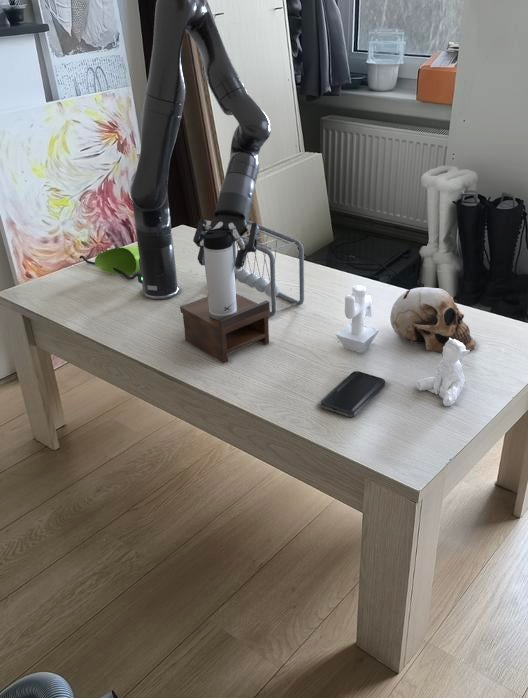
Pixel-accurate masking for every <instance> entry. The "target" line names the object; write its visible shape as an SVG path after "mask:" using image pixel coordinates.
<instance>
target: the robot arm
mask: <svg viewBox="0 0 528 698" xmlns="http://www.w3.org/2000/svg"><path fill="white" fill-rule="evenodd" d="M185 32H186V33H187V34H188V35H189V37H190V38H191V39H192V41H193V42H194V44H195V45H196V47H197V49H198V51H199V53H200V57H201V59H202V64H203V69H204V75H205V78H206V79H205V80H206V82H207V84H208V87H209V89H210V91H211V93H212V95H213V96H214V98H215V100H216V103H217V104H218V106H219V108H220V110H221V111H222V112H223V113H224V115H226V116H233V118H234V119H235V120H236V121H237V123H238V125H237V127H236V128H235V130H234V132H233V135H232V139H231V142H230V143H231V144H230V150H229V151H230V153H229V161H228V163H227V167H226V172H225V175H224V179H223V181H222V184H221V187H220V191H219V195H218V199H217V202H216V207H215V211H214V216H213V219H211V220H207V219H205V218H204V217H201V218H199V220H198V223H197V226H196V230H195V233H194V236H193V238H192V239H193V240H192V242H193V243H194V244H195V245H196V246H197V247H198V248H199V250H198V255H197V261H198V263H199V264H200V266H204V267H205V257H204V242H203V235H204V234H205V233H206V232H207V231H209V230H210V229H209V228H210V227H212V229H216V228H229V229H233V234H232V243H234V242H235V243H236V242H237V246H238V253H237V252H236V262H235V267H236V268H237V269H242V268H244V267H245V259H246V260H247V255H248V254H249V253H256V252H257V250H256V248H257V245H258V244H257V243H259V238H260V236H259V235H260V232H259V231H261V230H260V229H259V227H258V225H259V224H258V223H256V222H253V223H252V225H249V224H247V221H249V218H250V213H251V209H252V205H253V200H254V197H255V192H256V191H255V190H256V183H257V180H258V175H259V170H260V161H259V154H260V152H261V149H262V147H263V145H264V144H265V143H266V142H267V141H268V139H269V138H270V135H271V131H272V127H271V123H270V120H269V118H268V116H267V114H266V113H265V111H264V110H263V109H262V108H261V106H260V105H258V103H257V102H256V101H255V100H254V99H253V98H252V97H251V95H249V93H248V91H247V89H246V87H245V85H244V83H243V81H242V80H241V78H240V76H239V74H238V72H237V70H236V68H235V67H234V65H233V63H232V60H231V58H230V56H229V53H228V52H227V50H226V47H225V44H224V42H223V39H222V37H221V34H220V31H219V29H218V26H217V24H216V21H215V19H214V16H213V12H212V8H211V6H210V4H209V1H208V0H156V2H155V11H154V25H153V41H152V49H151V57H150V64H149V71H148V78H147V84H146V87H145V94H144V100H143V106H142V114H141V124H140V125H141V126H140V128H141V129H140V151H139V158H138V161H137V166H136V170H135V172H134V173H133V174H132V176H131V178H130V181H129V194H130V195H129V196H130V198H131V203H132V210H133V218H134V221H133V222H134V229H135V234H136V242H137V246H138V250H139V265H140V271H139V272H136V273H133V275H132V276H129V275H126V274H124V273H123V272H122V271H120V270H118V269H116V268H113V269H114V270H115V271H116V272H119V273H120V274H122V276H123V277H124V278H126V279H127V280H134V279H135V278H136V277H137V282H138V283H139V284H141V285H142V286H141V287H142V291H143V295H144V297H146V298H147V299H151V300H167V299H170V298H172V297H175V296H176V295H178V293H179V286H178V285H179V284H178V275H177V266H176V259H175V249H174V241H173V240H174V239H173V232H172V231H173V230H172V221H171V212H170V203H169V194H168V184H169V171H170V165H171V164H170V163H171V158H172V154H173V150H174V147H175V144H176V141H177V137H178V132H179V129H180V125H181V121H182V116H183V111H184V105H185V101H186V84H185V79H184V74H183V69H182V68H183V67H182V61H181V56H182V46H183V42H184V36H185ZM257 224H258V225H257ZM248 232H249V236H248V238H249V240H248V241H249V242H248V245H245V243H244V241H243V238H242V237H241V236H244V234H246V233H248ZM78 259H80V260H81V259H82V260H83V261H84V262H85V263H87V264H89V265H94V266H96V265H95V261H92V260H91V261H90V260H88V259H87V258H86V257H85V256H84V255H83V254H82V255H80V256H79V257H78ZM120 274H119V275H120Z"/></svg>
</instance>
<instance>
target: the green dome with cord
mask: <svg viewBox="0 0 528 698" xmlns="http://www.w3.org/2000/svg"><path fill="white" fill-rule="evenodd" d="M94 262H95V265H94V266H96V268H97V269H98V270H100V271H102V272H105V273H109V274H113V275H122V274H120V273H119V272H116V271H115V270H114V269H113V268H116V269H118V270H120V271H122V272H123V273H124V274H126V275H127V276H129V275H132V274H136V273H137V272H139V271H140V265H139V250H138V245H131V246H121V247H113V248H110V249H107V250H105V251H103V252H100V253H98V254H97V255H96V257H95V258H94ZM122 276H123V275H122Z"/></svg>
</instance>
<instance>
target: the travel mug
mask: <svg viewBox="0 0 528 698" xmlns="http://www.w3.org/2000/svg"><path fill="white" fill-rule="evenodd" d="M232 234H233V229H229V228H216V229H212V230H210V229H208V231H206V233H205V234H204V235H203V242H204V257H205V266H204V269H205V268H206V272H205V278H206V290H207V296H208V303H209V315H210V317H211V318H213V319H216V320H219V319H221V318H224V317H226V316H229V315H231V314H234V313H236V312H237V307H236V294H237V292H236V279H235V275H234V259H233V247H232V246H233V244H232Z"/></svg>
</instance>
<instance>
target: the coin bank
mask: <svg viewBox="0 0 528 698" xmlns="http://www.w3.org/2000/svg"><path fill="white" fill-rule="evenodd" d="M389 318H390V319H389V320H390V321H389V322H390V326H391V328H392V330H393V331H394V333H396V335H398V336H399V337H400V338H401V339H403V340H405V341H406V342H409V343H412V344H413V343H414V344H415V343H417V344H425V350H426V351H429V352H433V351H434V352H439V353H443V347H444V346H445V343H447V341H448V340H449V337H450V338H451V339H452V340H453V339H455V340H457V341H459V342H460V343H463V344H464V346H465V347H466V350H470V351H472V350H474V349H475V346H476V341H475V340H474V339H473V337H472V336H471V334H470V332H471V331H470V327H469V325H468V323H466V322H464V320H463V319H464V318H465V314H464V313H463V312H462V311H460V309H459V307H458V306H457V304H456V302H455V299H454V296H451V295H450V294H449V293H448V291H446V290H444V289H443V288H437V287H427V286H424V287H414V288H411V289H408V290H405V292H403V293H401V295H399V297H398V298H397V299H396V300H395V302H394V303H393V305H392V307H391V312H390V317H389Z"/></svg>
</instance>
